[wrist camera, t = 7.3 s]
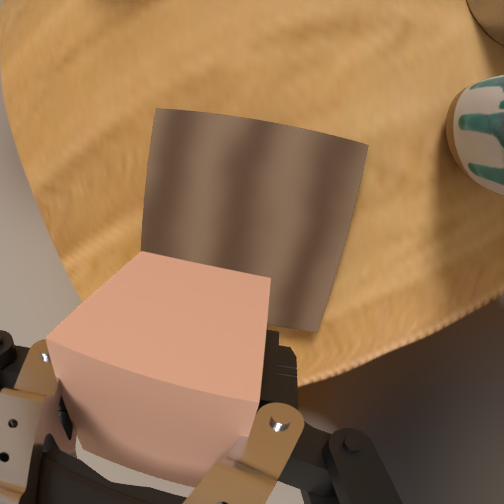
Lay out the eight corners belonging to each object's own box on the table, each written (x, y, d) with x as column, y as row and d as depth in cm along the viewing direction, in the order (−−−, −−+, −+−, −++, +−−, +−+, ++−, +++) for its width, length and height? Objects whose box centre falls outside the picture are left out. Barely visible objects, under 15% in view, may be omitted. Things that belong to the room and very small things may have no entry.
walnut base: (359, 144, 25) (368, 145, 23) (314, 317, 32) (317, 332, 29) (168, 111, 26) (156, 108, 23) (150, 283, 32) (139, 295, 29)
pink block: (270, 278, 11) (259, 403, 5) (247, 377, 13) (228, 494, 7) (141, 251, 11) (44, 338, 6) (141, 351, 13) (83, 449, 7)
